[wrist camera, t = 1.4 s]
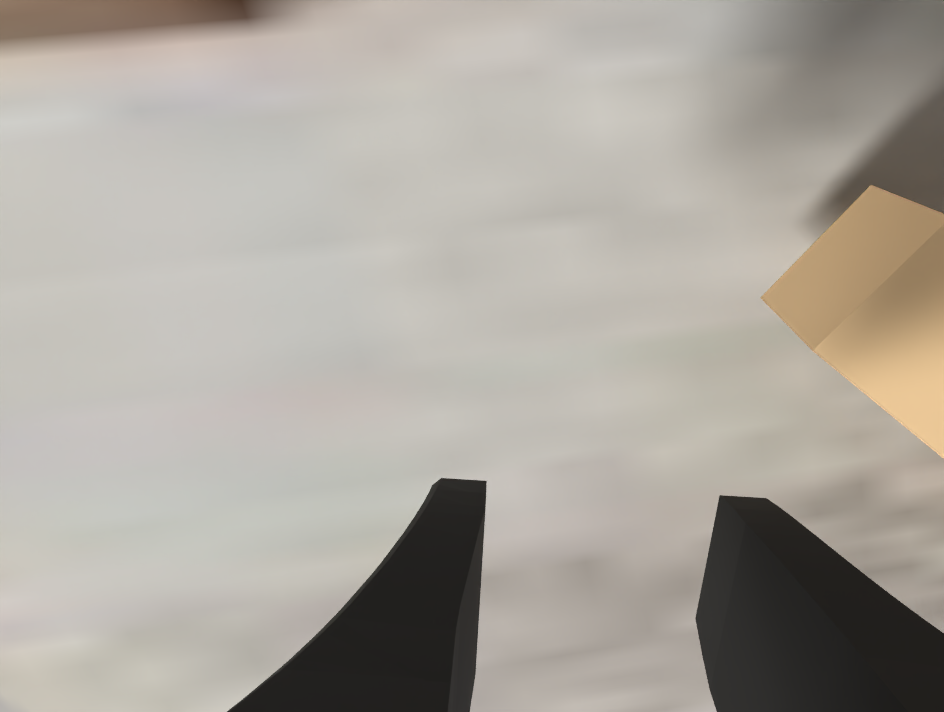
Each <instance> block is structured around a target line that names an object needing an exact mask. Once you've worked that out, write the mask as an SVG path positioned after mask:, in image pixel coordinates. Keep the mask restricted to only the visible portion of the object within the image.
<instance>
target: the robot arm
mask: <svg viewBox="0 0 944 712" xmlns="http://www.w3.org/2000/svg"><path fill="white" fill-rule="evenodd" d="M485 504H486V481H478V480H462V479H446V478H441V479H440V480H438V481H437V482H436V483H435V484H433V485H432V487H431V489H430V492H429V494H428V495H427V497H426V499H425V501H424V503H423V504H422V506H421V508H420V509H419V511H418V512H417V514H416V516H415V517H414V518H413V520H412V521H411V523H410V524H409V526H408V527H407V529H406V530H405V532H404V533H403V535H402V536H401V537H400V539H399V540H398V541H397V543H396V544H395V545H394V546H393V548H392V549H391V550H390V552H389V553H388V554H387V556H386V557H385V558H384V560H383V561H382V562H381V564H380V565H379V566H378V567H377V569H376V570H375V571H374V572H373V574H372V575H371V576H370V577H369V578H368V579H367V580H366V582H365V583H364V584H363V585H362V586H361V587H360V588H359V589H358V591H357V592H356V593H355V594H354V595H353V596H352V597H351V599H350V600H349V601H348V602H347V603H346V604H345V605H344V607H343V608H342V609H341V610H340V611H339V612H338V613H337V614H336V615H335V616H334V617H333V618H332V619H331V620H330V621H329V622H328V623H327V624H326V625H325V626H324V628H323V629H322V630H321V631H319V632H318V633H317V634H316V635H315V636H314V637H313V638H312V639H311V640H310V641H309V642H308V643H307V644H306V645H305V646H304V647H303V648H302V649H301V650H300V651H298V652H297V653H296V654H295V655H294V656H293V657H292V658H291V659H290V660H289V661H288V662H287V663H285V664H284V665H283V666H282V667H281V668H280V669H278V670H277V671H276V672H275V673H274V674H273V675H271V676H270V677H269V678H268V679H267V680H265V681H264V682H263V683H262V684H261V685H259V686H258V687H257V688H256V689H255V690H253V691H252V692H251V693H250V694H249V695H247V696H246V697H245V698H244V699H243V700H241V701H240V702H239V703H238V704H236V705H235V706H234V707H232V708H231V709H230V710H229V711H227V712H470V705H471V699H472V692H473V686H474V679H475V671H476V654H477V638H478V621H479V604H480V588H481V571H482V555H483V538H484V522H485ZM696 623H697V629H698V634H699V639H700V645H701V650H702V655H703V660H704V665H705V669H706V674H707V679H708V683H709V688H710V692H711V695H712V698H713V701H714V704H715V707H716V710H717V712H944V633H942V632H941V631H940V630H938V629H937V628H935V627H934V626H932V625H931V624H930V623H928V622H927V621H925V620H924V619H923V618H921V617H920V616H919V615H917V614H916V613H915V612H913V611H912V610H910V609H909V608H908V607H906V606H905V605H904V604H902V603H901V602H900V601H898V600H897V599H896V598H894V597H893V596H892V595H890V594H889V593H888V592H887V591H885V590H884V589H883V588H881V587H880V586H879V585H877V584H876V583H875V582H874V581H872V580H871V579H870V578H868V577H867V576H866V575H865V574H863V573H862V572H861V571H859V570H858V569H857V568H856V567H854V566H853V565H852V564H851V563H849V562H848V561H847V560H846V559H844V558H843V557H842V556H841V555H839V554H838V553H837V552H836V551H834V550H833V549H832V548H831V547H829V546H828V545H827V544H826V543H824V542H823V541H822V540H821V539H819V538H818V537H817V536H816V535H814V534H813V533H812V532H811V531H809V530H808V529H807V528H806V527H804V526H803V525H802V524H800V523H799V522H798V521H797V520H795V519H794V518H793V517H792V516H790V515H789V514H788V513H786V512H785V511H784V510H782V509H781V508H780V507H778V506H777V505H775V504H774V503H772V502H771V501H770V500H768V499H766V498H753V497H737V496H721V495H720V497H719V502H718V507H717V512H716V517H715V522H714V527H713V532H712V537H711V543H710V548H709V553H708V558H707V563H706V568H705V573H704V578H703V583H702V588H701V593H700V599H699V604H698V609H697V614H696Z"/></svg>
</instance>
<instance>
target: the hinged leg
mask: <svg viewBox="0 0 944 712" xmlns="http://www.w3.org/2000/svg"><path fill="white" fill-rule="evenodd" d="M761 299H762V300H763V301H764V302H765V303H766V304H767V305H768V306H769V307H770V308H771V309H772V310H773V311H774V312H775V313H776V314H777V315H778V316H779V317H780V318H781V319H782V320H783V321H784V322H785V323H786V324H787V325H788V326H789V327H790V328H791V329H792V330H793V331H794V332H795V333H796V334H797V335H798V336H799V338H800V339H801V340H802V341H803V342H804V343H805V344H806V345H807V346H808V347H809V348H810V349H811V350H812V351H813V352H815V353H816V354H817V355H818V356H819V357H821V358H822V359H823V360H824V361H826V362H827V363H828V364H829V365H830V366H832V367H833V368H834V369H835V370H837V371H838V372H839V373H840V374H841V375H843V376H844V377H845V378H846V379H847V380H849V381H850V382H851V383H852V384H854V385H855V386H856V387H857V388H858V389H860V390H861V391H862V392H863V393H864V394H866V395H867V396H868V397H869V398H871V399H872V400H873V401H874V402H875V403H877V404H878V405H879V406H880V407H882V408H883V409H884V410H885V411H886V412H888V413H889V414H890V415H891V416H892V417H894V418H895V419H896V420H897V421H899V422H900V423H901V424H902V425H903V426H905V427H906V428H907V429H908V430H909V431H911V432H912V433H913V434H914V435H916V436H917V437H918V438H919V439H920V440H922V441H923V442H924V443H925V444H927V445H928V446H929V447H930V448H931V449H933V450H934V451H935V452H936V453H937V454H939V455H940V456H941V457H942V458H944V213H941V212H939V211H936V210H933V209H931V208H928V207H926V206H923V205H921V204H918V203H916V202H913V201H911V200H908V199H906V198H903V197H901V196H898V195H896V194H893V193H891V192H888V191H885V190H883V189H880V188H878V187H875V186H873V185H870V186H869V187H868V188H867V189H866V190H865V191H864V192H863V193H862V194H861V196H860V197H859V198H858V199H857V200H856V201H855V202H854V203H853V204H852V205H851V206H850V207H849V208H848V209H847V210H846V211H845V212H844V213H843V214H842V215H841V216H840V217H839V218H838V219H837V220H836V221H835V222H834V223H833V224H832V225H831V226H830V227H829V228H828V229H827V230H826V231H825V232H824V233H823V234H822V235H821V236H820V237H819V238H818V239H817V240H816V242H815V243H814V244H813V245H812V246H811V247H810V248H809V249H808V250H807V251H806V252H805V253H804V254H803V255H802V256H801V257H800V258H799V259H798V260H797V261H796V262H795V263H794V264H793V265H792V266H791V267H790V268H789V269H788V270H787V271H786V272H785V273H784V274H783V275H782V276H781V277H780V278H779V279H778V280H777V281H776V282H775V283H774V284H773V285H772V286H771V288H770V289H769V290H768V291H767V292H766V293H765V294H764V295H763V296H762V297H761Z"/></svg>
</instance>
